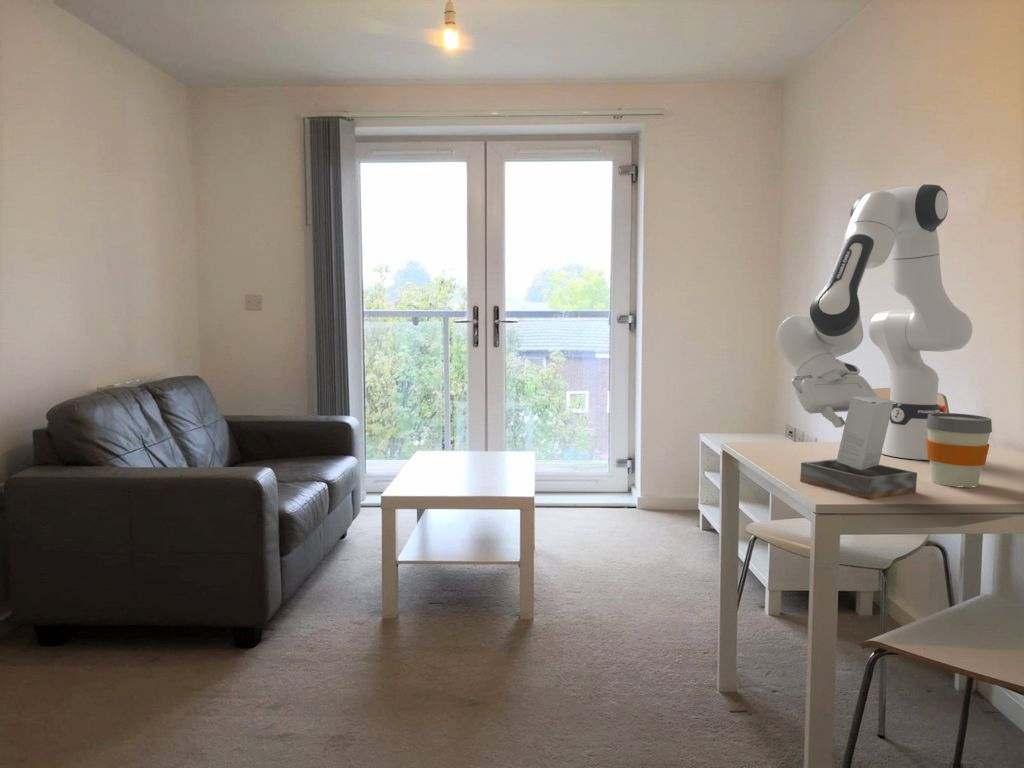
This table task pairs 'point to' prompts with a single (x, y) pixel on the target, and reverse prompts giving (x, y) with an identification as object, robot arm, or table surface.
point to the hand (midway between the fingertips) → (856, 424)
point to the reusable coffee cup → (957, 447)
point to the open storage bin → (859, 479)
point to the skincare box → (864, 431)
